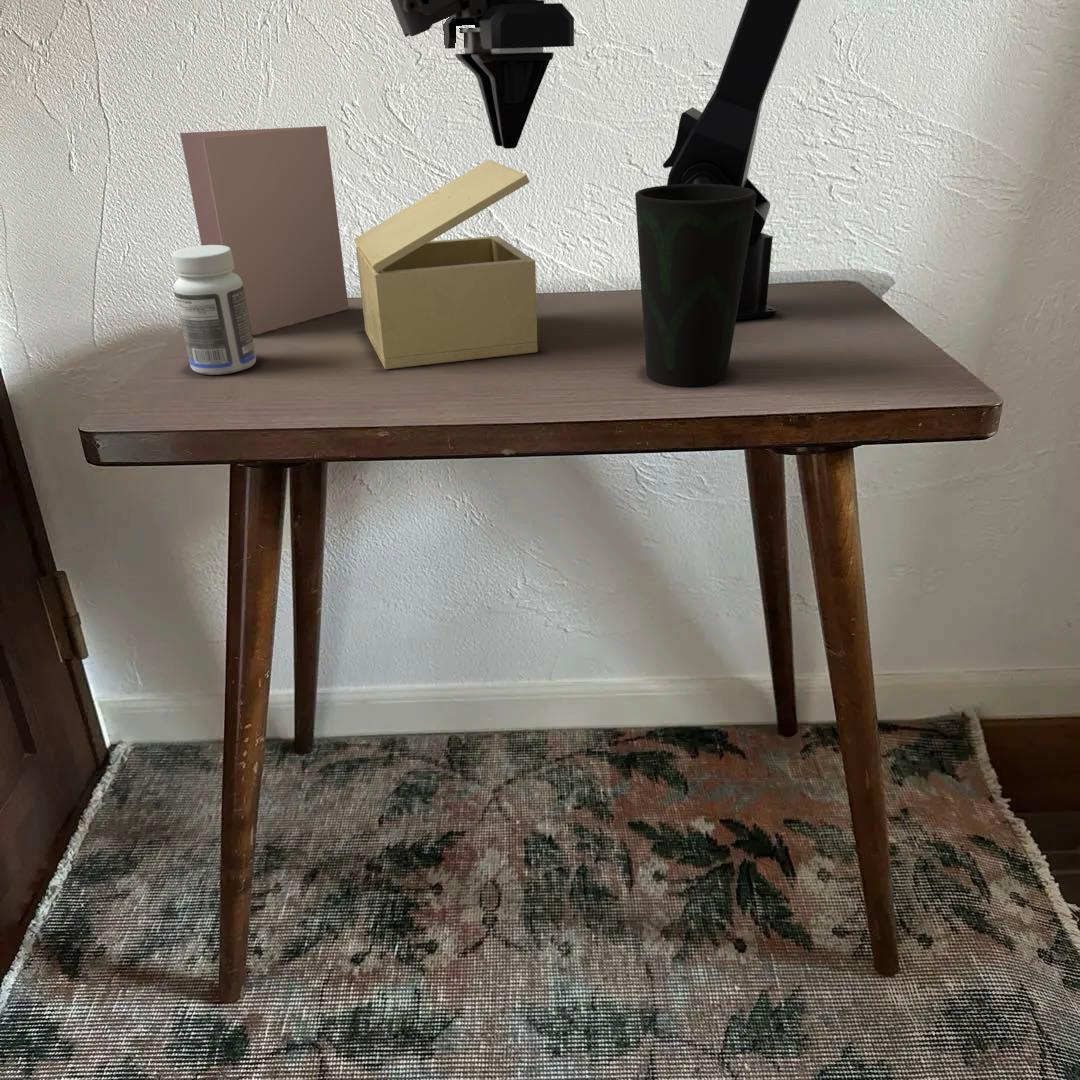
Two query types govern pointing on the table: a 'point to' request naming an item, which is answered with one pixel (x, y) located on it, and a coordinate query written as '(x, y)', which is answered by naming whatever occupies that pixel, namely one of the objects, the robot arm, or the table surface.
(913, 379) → the table surface
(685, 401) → the table surface
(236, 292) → the pill bottle
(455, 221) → the lid
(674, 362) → the cup
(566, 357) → the table surface
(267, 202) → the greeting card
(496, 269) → the pale yellow box
